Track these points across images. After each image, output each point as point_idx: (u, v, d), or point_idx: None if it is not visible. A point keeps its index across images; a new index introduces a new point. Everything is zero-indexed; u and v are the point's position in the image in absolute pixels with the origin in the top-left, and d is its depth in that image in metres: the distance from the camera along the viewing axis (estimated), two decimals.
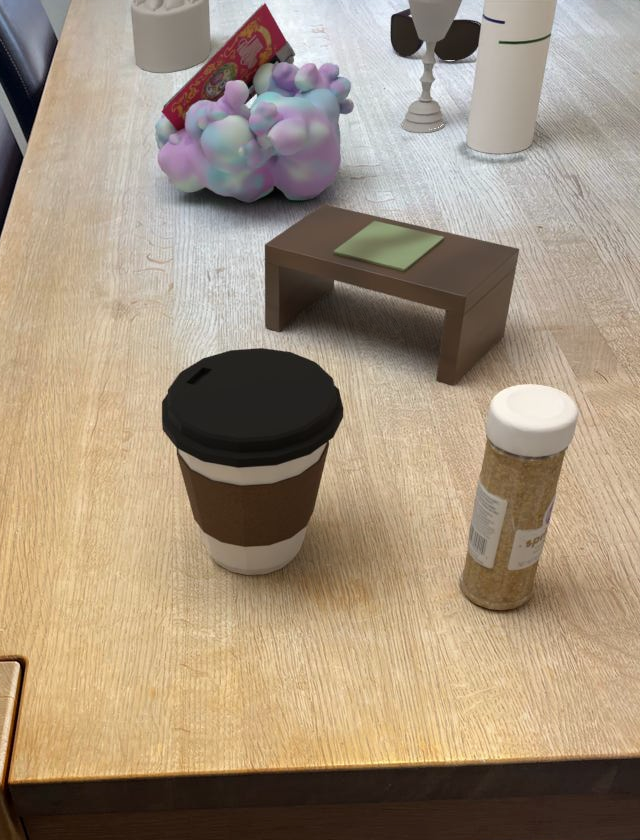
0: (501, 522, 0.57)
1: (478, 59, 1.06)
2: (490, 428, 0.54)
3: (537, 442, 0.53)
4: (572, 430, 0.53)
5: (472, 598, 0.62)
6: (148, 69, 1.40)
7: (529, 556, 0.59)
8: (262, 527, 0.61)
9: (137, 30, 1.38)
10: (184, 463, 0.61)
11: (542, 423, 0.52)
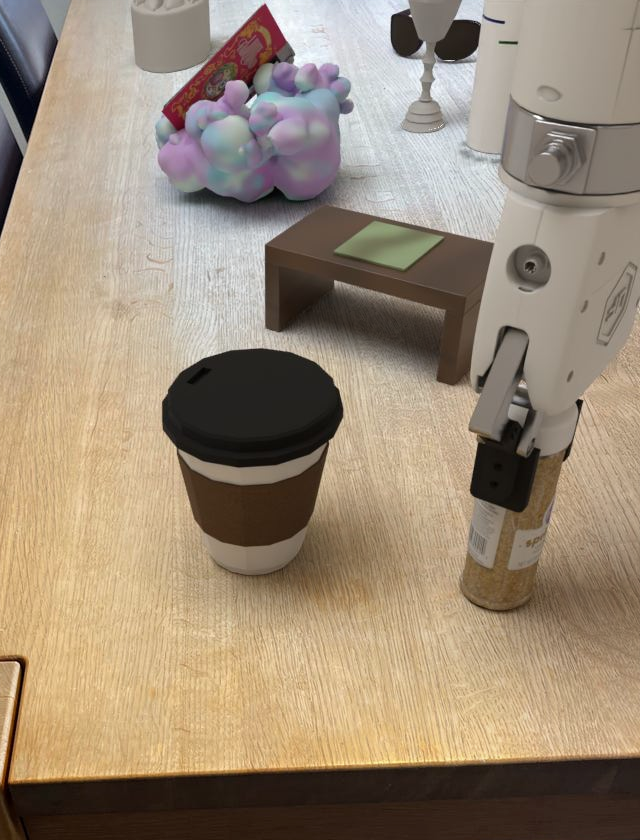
0: (501, 522, 0.57)
1: (478, 59, 1.06)
2: None
3: (537, 442, 0.53)
4: (572, 430, 0.53)
5: (472, 598, 0.62)
6: (148, 69, 1.40)
7: (529, 556, 0.59)
8: (262, 527, 0.61)
9: (137, 30, 1.38)
10: (184, 463, 0.61)
11: (542, 423, 0.52)
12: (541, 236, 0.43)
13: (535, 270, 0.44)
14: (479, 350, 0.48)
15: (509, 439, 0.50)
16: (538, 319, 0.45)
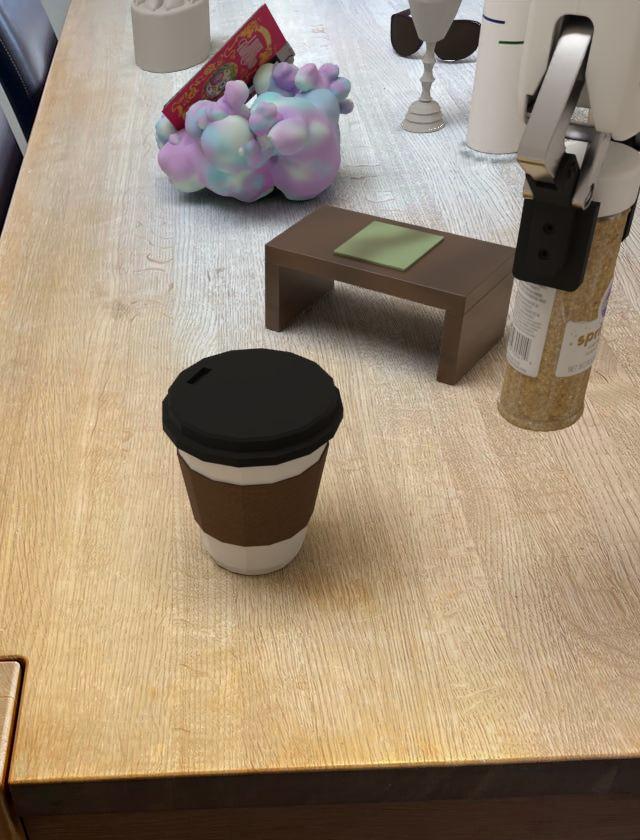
0: (548, 313, 0.48)
1: (478, 59, 1.06)
2: None
3: (595, 197, 0.44)
4: (637, 184, 0.44)
5: (512, 420, 0.53)
6: (148, 69, 1.40)
7: (581, 359, 0.50)
8: (262, 527, 0.61)
9: (137, 30, 1.38)
10: (184, 463, 0.61)
11: (602, 172, 0.43)
12: None
13: None
14: (529, 58, 0.39)
15: (565, 177, 0.41)
16: None
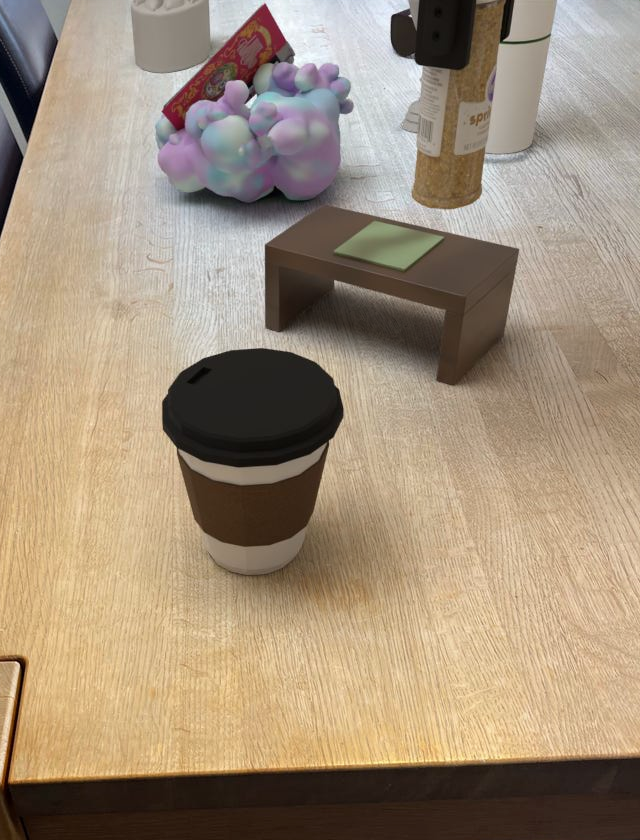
0: (445, 95, 0.60)
1: None
2: None
3: None
4: None
5: (422, 200, 0.65)
6: (148, 69, 1.40)
7: (474, 138, 0.61)
8: (262, 527, 0.61)
9: (137, 30, 1.38)
10: (184, 463, 0.61)
11: None
12: None
13: None
14: None
15: None
16: None
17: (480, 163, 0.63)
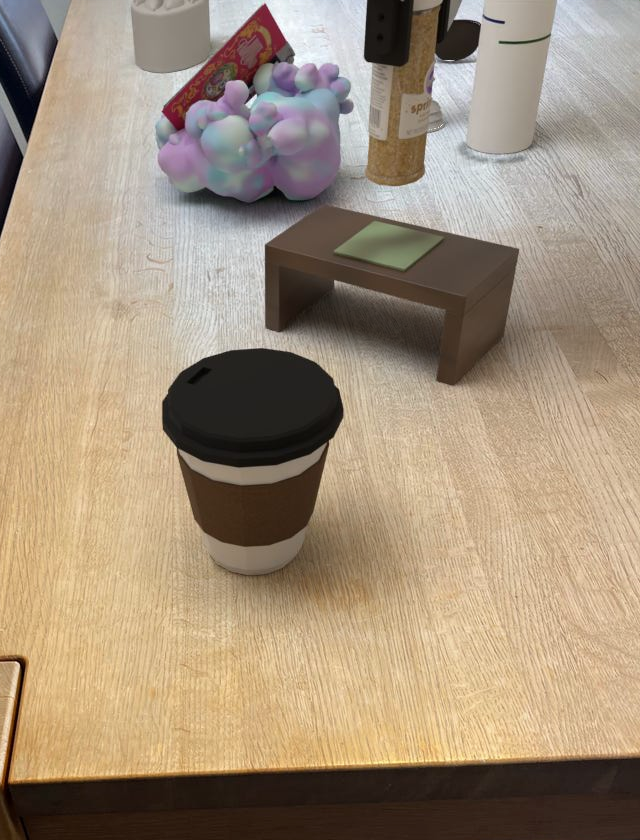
0: (389, 87, 0.70)
1: (478, 59, 1.06)
2: None
3: None
4: None
5: (373, 178, 0.75)
6: (148, 69, 1.40)
7: (415, 125, 0.72)
8: (262, 527, 0.61)
9: (137, 30, 1.38)
10: (184, 463, 0.61)
11: None
12: None
13: None
14: None
15: None
16: None
17: (422, 147, 0.74)
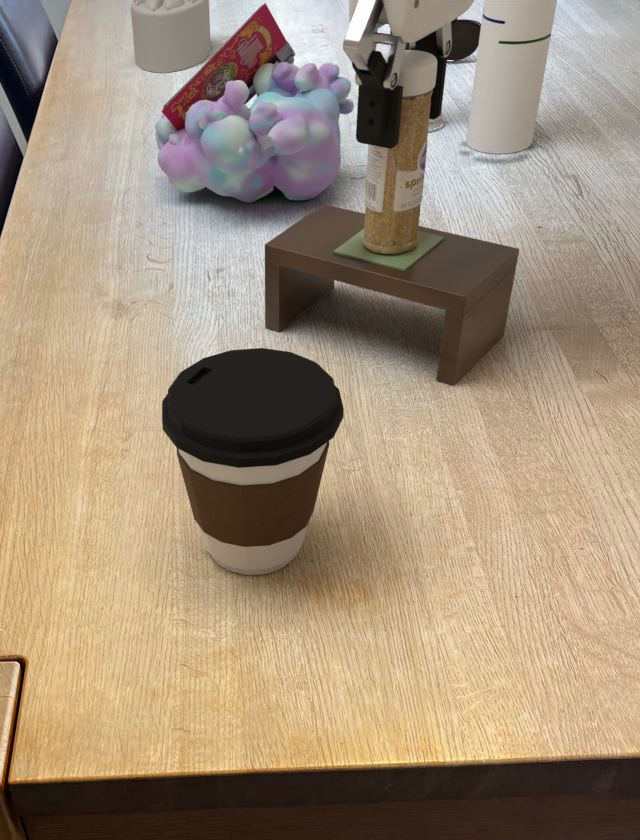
0: (385, 164, 0.74)
1: (478, 59, 1.06)
2: None
3: (405, 82, 0.70)
4: (432, 75, 0.70)
5: (370, 246, 0.79)
6: (148, 69, 1.40)
7: (409, 199, 0.76)
8: (262, 527, 0.61)
9: (137, 30, 1.38)
10: (184, 463, 0.61)
11: (408, 66, 0.70)
12: None
13: None
14: None
15: (374, 65, 0.67)
16: None
17: (415, 218, 0.78)
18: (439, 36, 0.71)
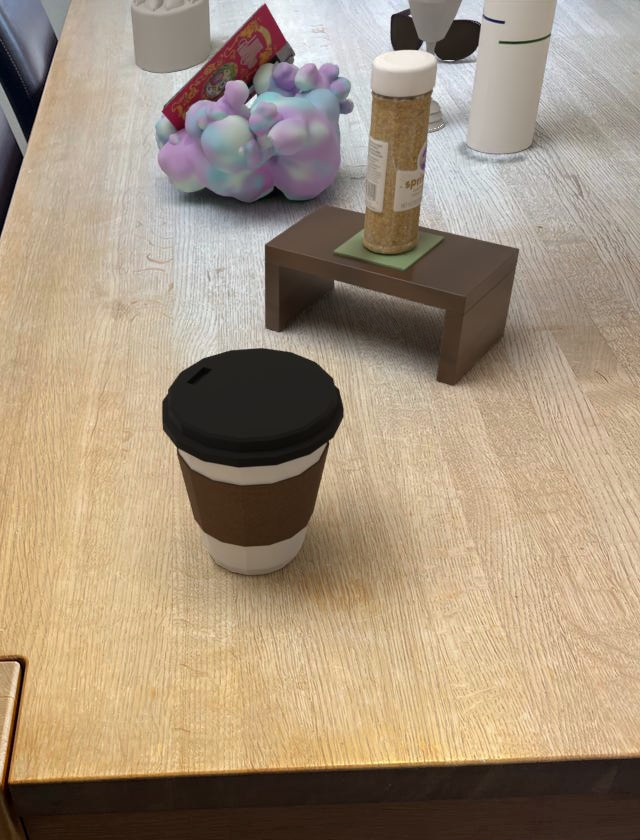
0: (385, 165, 0.74)
1: (478, 59, 1.06)
2: (372, 80, 0.72)
3: (405, 82, 0.70)
4: (432, 75, 0.70)
5: (370, 246, 0.79)
6: (148, 69, 1.40)
7: (409, 199, 0.76)
8: (262, 527, 0.61)
9: (137, 30, 1.38)
10: (184, 463, 0.61)
11: (408, 66, 0.70)
12: None
13: None
14: None
15: None
16: None
17: (415, 218, 0.78)
18: None
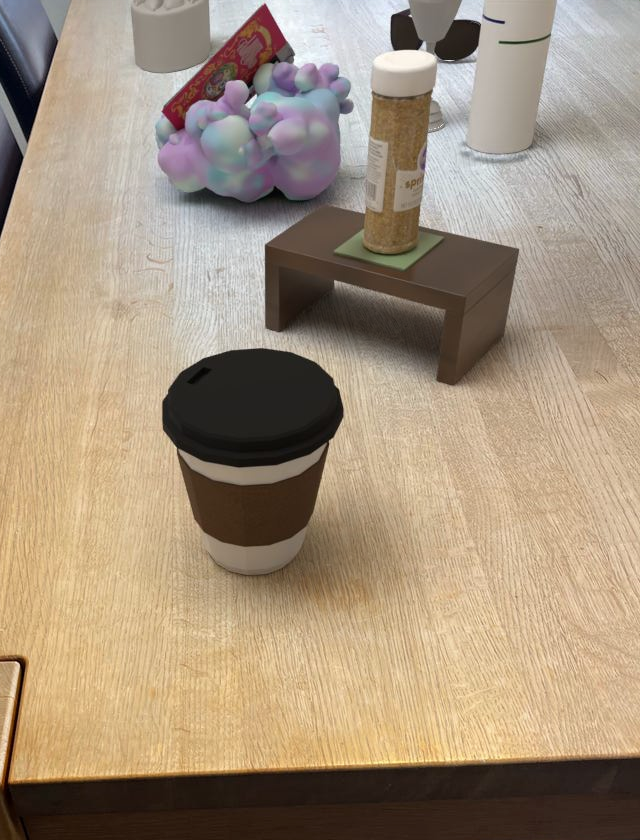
0: (385, 165, 0.74)
1: (478, 59, 1.06)
2: (372, 80, 0.72)
3: (405, 82, 0.70)
4: (432, 75, 0.70)
5: (370, 246, 0.79)
6: (148, 69, 1.40)
7: (409, 199, 0.76)
8: (262, 527, 0.61)
9: (137, 30, 1.38)
10: (184, 463, 0.61)
11: (408, 66, 0.70)
12: None
13: None
14: None
15: None
16: None
17: (415, 218, 0.78)
18: None
